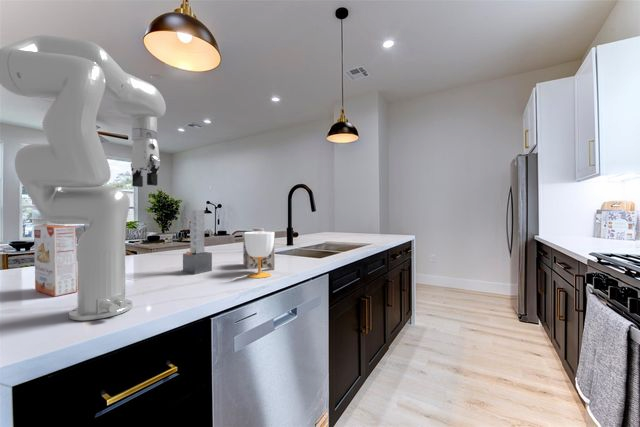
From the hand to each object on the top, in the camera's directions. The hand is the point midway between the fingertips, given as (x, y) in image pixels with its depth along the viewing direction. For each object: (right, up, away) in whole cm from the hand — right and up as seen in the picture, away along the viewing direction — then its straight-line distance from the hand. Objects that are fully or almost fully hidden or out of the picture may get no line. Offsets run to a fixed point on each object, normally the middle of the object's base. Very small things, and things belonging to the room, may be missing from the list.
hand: (144, 185), depth 97 cm
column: (+13, -28, +13) cm, 34 cm away
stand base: (+13, -34, +13) cm, 39 cm away
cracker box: (-22, -35, -10) cm, 42 cm away
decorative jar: (+34, -34, +26) cm, 55 cm away
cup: (+38, -34, +12) cm, 52 cm away
